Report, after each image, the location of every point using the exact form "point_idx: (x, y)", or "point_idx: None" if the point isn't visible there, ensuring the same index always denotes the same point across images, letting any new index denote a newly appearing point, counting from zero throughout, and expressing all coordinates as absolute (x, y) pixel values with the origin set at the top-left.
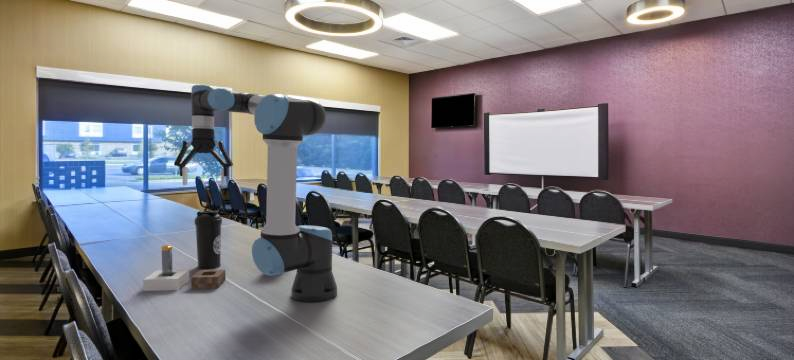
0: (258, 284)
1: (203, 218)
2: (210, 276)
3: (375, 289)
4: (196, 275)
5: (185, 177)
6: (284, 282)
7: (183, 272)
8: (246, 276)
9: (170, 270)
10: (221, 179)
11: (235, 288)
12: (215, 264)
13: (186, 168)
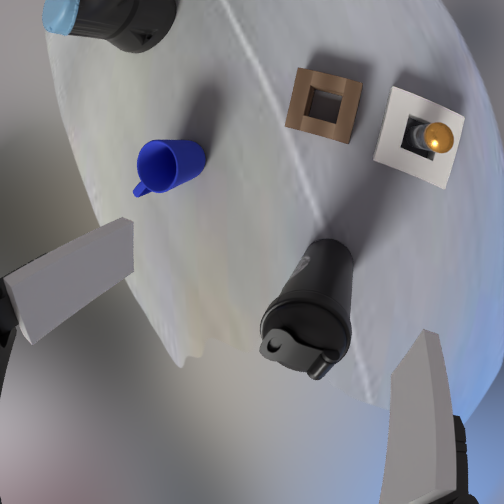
0: (223, 78)
1: (321, 313)
2: (316, 75)
3: (84, 46)
4: (351, 95)
5: (417, 400)
6: (178, 82)
7: (385, 136)
8: (246, 141)
9: (415, 127)
10: (95, 237)
11: (268, 62)
12: (313, 244)
13: (390, 501)
